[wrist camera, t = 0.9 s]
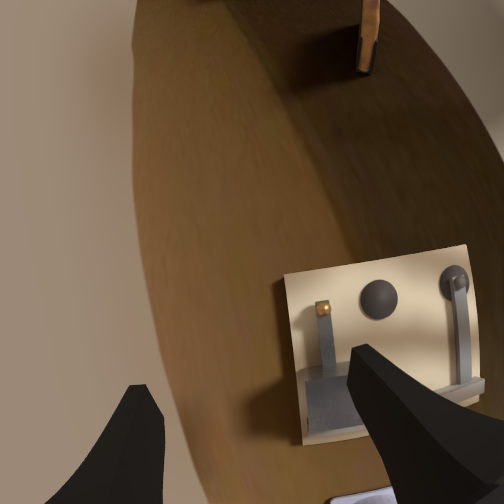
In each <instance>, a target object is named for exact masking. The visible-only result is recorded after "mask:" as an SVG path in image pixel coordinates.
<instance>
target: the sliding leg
mask: <svg viewBox="0 0 504 504" xmlns="http://www.w3.org/2000/svg"><path fill="white" fill-rule="evenodd" d="M315 309H316V316H317V325H318V333H319V342H320V351H321V360H322V365H320V366H313V367H305V389H306V399H307V410H308V421H309V433H315V432H322V431H329V430H336V429H342V428H348V427H354V426H359V425H364V423H363V422H362V420H361V418H360V416H359V414H358V412H357V410H356V408H355V406H354V403H353V401H352V398H351V396H350V393H349V390H348V387H347V385H346V384H347V377H348V371H349V364H350V361H345V362H339V363H336V355H335V345H334V336H333V327H332V319H331V305H330V304H329V300H323V301H317V302H315Z"/></svg>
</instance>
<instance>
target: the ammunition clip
mask: <svg viewBox="0 0 504 504" xmlns="http://www.w3.org/2000/svg"><path fill="white" fill-rule="evenodd" d="M379 5H380V0H362V4H361V14H360V25H359V37H358V47H357V57H356V67H355V71H356V72H361V73H365V74H369V75H371V74H372V69H373V64H374V59H375V54H376V49H377V43H378V28H379V21H380V18H379Z"/></svg>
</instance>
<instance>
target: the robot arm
mask: <svg viewBox="0 0 504 504" xmlns="http://www.w3.org/2000/svg"><path fill="white" fill-rule="evenodd" d="M346 385H347V387H348V390H349V393H350V396H351V398H352V401H353V403H354V406H355V408H356V410H357V412H358V414H359V416H360V418H361V420H362V422H363V423H364V425H365V427H366V429H367V431H368V433H369V435H370V437H371V438H372V440H373V442H374V444H375V446H376V448H377V450H378V452H379V454H380V456H381V458H382V460H383V463H384V466H385V468H386V471H387V474H388V476H389V479H390V482H391V485H392V486H390V487H386V488H382V489H378V490H373V491H369V492H364V493H359V494H353V495H348V496H342V497H335V498H332V499H331V500H330V504H504V421H503V420H499V419H496V418H492V417H489V416H486V415H483V414H480V413H478V412H475V411H472V410H470V409H467V408H465V407H463V406H460V405H458V404H456V403H454V402H452V401H450V400H448V399H446V398H444V397H443V396H441V395H439V394H437V393H436V392H434V391H432V390H431V389H429V388H428V387H426V386H424V385H423V384H421V383H420V382H418V381H417V380H415V379H414V378H413V377H411V376H410V375H408V374H407V373H406V372H404V371H403V370H401V369H400V368H399V367H397V366H396V365H395V364H393V363H392V362H391V361H389V360H388V359H387V358H386V357H384V356H383V355H382V354H380V353H379V352H378V351H377V350H375V349H374V348H373V347H371V346H370V345H369V344H367V343H366V344H363V345H359V346H356V347H352V349H351V356H350V364H349V371H348V377H347V384H346ZM164 456H165V426H164V416H163V415H162V413H161V411H160V410H159V408H158V406H157V404H156V403H155V401H154V399H153V397H152V395H151V394H150V392H149V390H148V388H147V386H146V385H145V384H143V385H130V386H129V387H128V389H127V390H126V392H125V394H124V396H123V397H122V399H121V401H120V403H119V405H118V406H117V408H116V410H115V412H114V413H113V415H112V417H111V419H110V420H109V422H108V424H107V426H106V427H105V429H104V431H103V432H102V434H101V436H100V437H99V439H98V440H97V442H96V443H95V445H94V446H93V448H92V449H91V451H90V452H89V454H88V456H87V457H86V458H85V460H84V461H83V462H82V464H81V465H80V467H79V468H78V469H77V470H76V471H75V473H74V474H73V475H72V476H71V477H70V479H69V480H68V481H67V482H66V483H65V484H64V485H63V486H62V487H61V489H60V490H59V491H58V492H57V493H56V494H55V495H54V496H52V497H51V498H50V499H49V500H48V501H47V502H46V503H45V504H163V492H162V491H163V472H164Z"/></svg>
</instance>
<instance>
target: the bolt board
mask: <svg viewBox="0 0 504 504" xmlns="http://www.w3.org/2000/svg"><path fill="white" fill-rule="evenodd" d="M284 279H285V287H286V294H287V302H288V310H289V318H290V326H291V335H292V343H293V352H294V361H295V370H296V379H297V389H298V399H299V409H300V419H301V430H302V441H303V445H312V444H320V443H327V442H334V441H341V440H347V439H352V438H358V437H363V436H368V435H369V433H368V431H367V429H366V427H365V425H359V426H354V427H348V428H342V429H336V430H329V431H322V432H315V433H309V421H308V410H307V399H306V389H305V367H313V366H320V365H322V360H321V351H320V342H319V333H318V325H317V316H316V309H315V302H317V301H323V300H329V304H330V305H331V319H332V327H333V336H334V345H335V355H336V363H339V362H345V361H350V356H351V349H352V347H356V346H359V345H363V344H366V343H367V344H369V345H370V346H371V347H373V348H374V349H375V350H377V351H378V352H379V353H380V354H382V355H383V356H384V357H386V358H387V359H388V360H389V361H391V362H392V363H393V364H395V365H396V366H397V367H399V368H400V369H401V370H403V371H404V372H406V373H407V374H408V375H410V376H411V377H413V378H414V379H415V380H417V381H418V382H420V383H421V384H423V385H424V386H426V387H428V388H429V389H431V390H432V391H434V392H436V393H437V394H439V395H441V396H443V397H444V398H446V399H448V400H450V401H452V402H454V403H456V404H458V405H460V406H463V407H466V406H468V405H471V404H473V403H475V402H478V401H479V394H482V393H484V379H483V378H480V358H479V335H478V321H477V311H476V302H475V294H474V286H473V280H472V274H471V268H470V262H469V257H468V252H467V247H466V244H465V245H460V246H455V247H449V248H444V249H438V250H433V251H427V252H422V253H416V254H410V255H405V256H399V257H393V258H387V259H381V260H375V261H369V262H363V263H356V264H350V265H344V266H337V267H331V268H324V269H318V270H311V271H305V272H298V273H291V274H284Z"/></svg>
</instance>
